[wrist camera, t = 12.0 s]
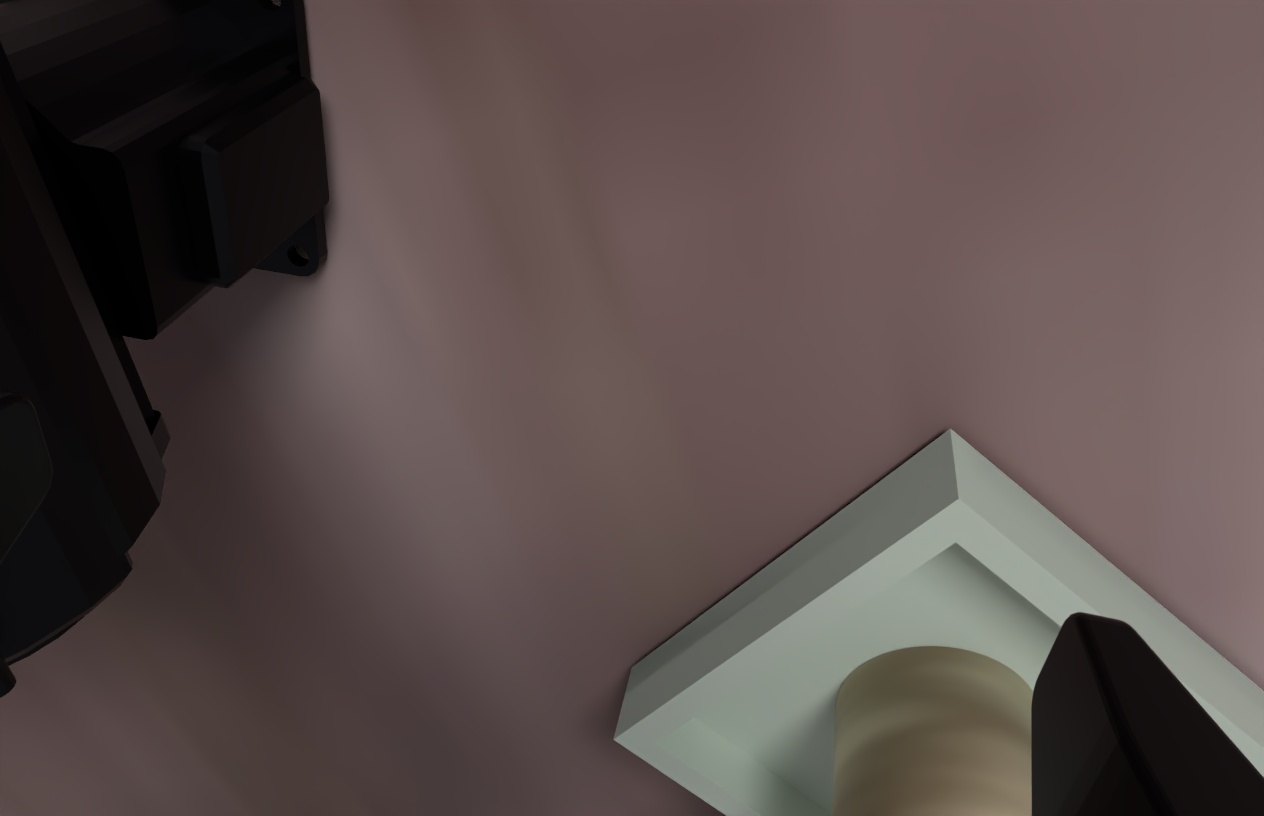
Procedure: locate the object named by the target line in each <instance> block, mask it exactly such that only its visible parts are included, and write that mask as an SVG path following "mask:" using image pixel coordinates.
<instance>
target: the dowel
mask: <svg viewBox="0 0 1264 816" xmlns="http://www.w3.org/2000/svg"><path fill="white" fill-rule="evenodd" d="M1032 696H1033V691H1032V689H1031V688H1030V686H1029V685H1028V684H1027V683H1026V682H1025V681H1024V680H1023V679H1022V677H1021V676H1020V675H1018V674H1017V673H1016V672H1014V671H1013V670H1012V669H1010V668H1009V667H1007V666H1006V665H1004V664H1002V663H1001V662H999V661H996V660H994V659H992V658H990V657H988V656H985V655H982V654H979V653H976V652H972V651H968V650H964V649H959V648H952V647H940V646H923V647H912V648H905V649H900V650H896V651H892V652H889V653H886V654H883V655H880V656H878V657H876V658H874V659H871V660H869V661H868V662H866V663H865V664H863V665H861V666H860V667H859V668H857V669H856V670H855V671H854V672H852V673H851V674H850V676H849V677H848V678H847V679H846V680H845V682H844V683H843V685H842V686H841V688H840V690H839V693H838V695H837V699H836V705H835V743H834V782H833V816H1032V786H1031V705H1032Z"/></svg>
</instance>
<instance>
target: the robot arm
mask: <svg viewBox="0 0 1264 816" xmlns="http://www.w3.org/2000/svg"><path fill="white" fill-rule="evenodd" d="M328 201H329V191H328V180H327V169H326V157H325V146H324V135H323V124H322V113H321V102H320V92H319V90H318V88H317V87H316V85H315V84H314V82H313V81H312V80H311V77H310V67H309V56H308V45H307V35H306V24H305V14H304V3H303V0H281V6H277V5H275V4H273V3H272V1H271V0H0V698H1V697H3V696H4V695H6V694H7V693H9V692H10V691H11V690H12V689H13V687H14V686H15V683H16V679H15V676H14V675H13V673H12V671H11V670H10V668H9V665H11V664H13V663H15V662H17V661H19V660H22V659H24V658H26V657H28V656H30V655H31V654H33V653H35V652H36V651H38V650H39V649H41V648H43V647H44V646H46V645H47V644H49V643H51V642H52V641H54V640H56V639H57V638H59V637H60V636H61V635H62V634H64V633H65V632H66V631H67V630H69V629H70V628H71V627H72V626H73V625H75V624H76V623H77V622H78V621H80V620H81V619H82V618H83V617H84V616H85V615H87V614H88V613H89V612H91V611H92V610H93V609H94V608H95V607H96V606H97V605H99V604H100V603H101V602H102V601H103V600H104V599H105V598H107V597H108V596H109V595H110V594H111V593H112V592H114V591H115V590H116V589H117V588H118V587H119V586H120V585H121V584H122V583H123V581H124V580H125V578H126V577H127V576H128V574H129V573H130V571H131V570H132V564H133V562H132V560H131V558H130V556H129V554H128V552H127V551H128V550H129V549H130V548H131V547H132V546H133V544H134V543H135V541H136V540H137V538H138V537H139V535H140V534H141V532H142V531H143V529H144V528H145V526H146V525H147V523H148V522H149V520H150V519H151V517H152V516H153V514H154V513H155V511H156V510H157V508H158V507H159V505H160V501H161V495H162V490H163V484H164V478H165V472H166V470H165V468H164V465H163V463H162V461H161V460H162V457H163V455H164V452H165V450H166V447H167V445H168V443H169V440H170V435H169V432H168V430H167V427H166V425H165V423H164V420H163V418H162V415H161V413H160V412H159V411H156V410H153V409H152V406H151V404H150V402H149V399H148V397H147V394H146V392H145V389H144V387H143V385H142V382H141V380H140V377H139V375H138V373H137V370H136V368H135V365H134V363H133V360H132V358H131V356H130V353H129V351H128V348H127V346H126V343H125V341H124V339H123V336H127V337H132V338H138V339H143V340H149V339H153V338H154V337H156V336H157V335H158V334H159V333H160V332H161V331H163V330H164V329H165V328H166V327H167V326H169V325H170V324H171V323H172V322H173V321H174V320H176V319H177V318H178V317H179V316H180V315H182V314H183V313H184V312H185V311H186V310H187V309H189V308H190V307H191V306H192V305H193V304H195V303H196V302H197V301H198V300H199V299H200V298H202V297H203V296H204V295H205V294H206V293H208V292H209V291H210V290H211V289H212V288H214V287H215V286H218V287H224V288H229V287H231V286H233V285H234V284H235V283H236V282H237V281H238V280H240V279H241V278H242V277H243V276H244V275H245V274H247V273H248V272H249V271H250V270H251V269H252V268H256V269H262V270H268V271H274V272H279V273H285V274H291V275H297V276H309V275H311V274H313V273H315V272H316V271H317V270H318V269H319V268H320V267H321V266H322V265H323V264H324V262H325V261H326V257H327V246H326V235H325V225H324V214H323V207H324V206H325V205H326V204H327V203H328ZM295 246H299V247H302V248H303V249H304V250H305V251H306V252H307V254H308V256H309V259H306V258H304V257H302V256H301V255H300V254H299V253H298V252H297V250H296V247H295ZM1031 786H1032V816H1264V777H1263V776H1262V775H1261V774H1260V772H1259V771H1258V770H1257V769H1256V768H1255V767H1254V766H1253V764H1252V763H1251V762H1250V761H1249V760H1248V759H1247V757H1246V756H1245V755H1244V754H1243V753H1242V752H1241V751H1240V749H1239V748H1238V747H1237V746H1236V745H1235V744H1234V743H1233V741H1232V740H1231V739H1230V738H1229V737H1228V736H1227V735H1226V733H1225V732H1224V731H1223V730H1222V729H1221V728H1220V727H1219V725H1218V724H1217V723H1216V722H1215V721H1214V720H1213V719H1212V717H1211V716H1210V715H1209V714H1208V713H1207V712H1206V711H1205V709H1204V708H1203V707H1202V706H1201V705H1200V704H1199V702H1198V701H1197V700H1196V699H1195V698H1194V697H1193V696H1192V694H1191V693H1190V692H1189V691H1188V690H1187V689H1186V688H1185V686H1184V685H1183V684H1182V683H1181V682H1180V681H1179V680H1178V678H1177V677H1176V676H1175V675H1174V674H1173V673H1172V672H1171V670H1170V669H1169V668H1168V667H1167V666H1166V665H1165V664H1164V662H1163V661H1162V660H1161V659H1160V658H1159V657H1158V656H1157V654H1156V653H1155V652H1154V651H1153V650H1152V649H1151V647H1150V646H1149V645H1148V644H1147V643H1146V642H1145V641H1144V639H1143V638H1142V637H1141V636H1140V635H1139V634H1138V633H1137V631H1136V630H1135V629H1134V628H1133V627H1131V626H1130V625H1129V624H1128V623H1126V622H1124V621H1121V620H1118V619H1113V618H1108V617H1103V616H1098V615H1093V614H1089V613H1084V612H1077V613H1073V614H1071V615H1070V616H1069V617H1068V618H1067V619H1066V620H1065V621H1064V623H1063V625H1062V627H1061V629H1060V631H1059V633H1058V635H1057V637H1056V639H1055V642H1054V644H1053V646H1052V648H1051V650H1050V652H1049V654H1048V656H1047V659H1046V661H1045V663H1044V665H1043V667H1042V669H1041V671H1040V673H1039V675H1038V678H1037V680H1036V683H1035V687H1034V691H1033V696H1032V705H1031Z"/></svg>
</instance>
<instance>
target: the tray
mask: <svg viewBox="0 0 1264 816" xmlns="http://www.w3.org/2000/svg"><path fill="white" fill-rule="evenodd" d="M1077 612H1084V613H1089V614H1093V615H1098V616H1103V617H1108V618H1113V619H1118V620H1121V621H1124V622H1126V623H1128V624H1129V625H1130V626H1131V627H1133V628H1134V629H1135V630H1136V631H1137V633H1138V634H1139V635H1140V636H1141V637H1142V638H1143V639H1144V641H1145V642H1146V643H1147V644H1148V645H1149V646H1150V647H1151V649H1152V650H1153V651H1154V652H1155V653H1156V654H1157V656H1158V657H1159V658H1160V659H1161V660H1162V661H1163V662H1164V664H1165V665H1166V666H1167V667H1168V668H1169V669H1170V670H1171V672H1172V673H1173V674H1174V675H1175V676H1176V677H1177V678H1178V680H1179V681H1180V682H1181V683H1182V684H1183V685H1184V686H1185V688H1186V689H1187V690H1188V691H1189V692H1190V693H1191V694H1192V696H1193V697H1194V698H1195V699H1196V700H1197V701H1198V702H1199V704H1200V705H1201V706H1202V707H1203V708H1204V709H1205V711H1206V712H1207V713H1208V714H1209V715H1210V716H1211V717H1212V719H1213V720H1214V721H1215V722H1216V723H1217V724H1218V725H1219V727H1220V728H1221V729H1222V730H1223V731H1224V732H1225V733H1226V735H1227V736H1228V737H1229V738H1230V739H1231V740H1232V741H1233V743H1234V744H1235V745H1236V746H1237V747H1238V748H1239V749H1240V751H1241V752H1242V753H1243V754H1244V755H1245V756H1246V757H1247V759H1248V760H1249V761H1250V762H1251V763H1252V764H1253V766H1254V767H1255V768H1256V769H1257V770H1258V771H1259V772H1260V774H1261V775H1262V776H1263V777H1264V691H1263V690H1262V689H1261V688H1260V687H1258V686H1257V685H1256V684H1255V683H1254V682H1252V681H1251V680H1250V679H1249V678H1248V677H1247V676H1245V675H1244V674H1243V673H1242V672H1241V671H1239V670H1238V669H1237V668H1236V667H1235V666H1233V665H1232V664H1231V663H1230V662H1229V661H1227V660H1226V659H1225V658H1224V657H1223V656H1221V655H1220V654H1219V653H1218V652H1217V651H1215V650H1214V649H1213V648H1212V647H1211V646H1210V645H1208V644H1207V643H1206V642H1205V641H1204V640H1202V639H1201V638H1200V637H1199V636H1198V635H1196V634H1195V633H1194V632H1193V631H1192V630H1190V629H1189V628H1188V627H1187V626H1186V625H1184V624H1183V623H1182V622H1181V621H1180V620H1178V619H1177V618H1176V617H1175V616H1174V615H1173V614H1171V613H1170V612H1169V611H1168V610H1167V609H1165V608H1164V607H1163V606H1162V605H1161V604H1159V603H1158V602H1157V601H1156V600H1155V599H1153V598H1152V597H1151V596H1150V595H1149V594H1147V593H1146V592H1145V591H1144V590H1143V589H1141V588H1140V587H1139V586H1138V585H1137V584H1136V583H1134V582H1133V581H1132V580H1131V579H1130V578H1128V577H1127V576H1126V575H1125V574H1124V573H1122V572H1121V571H1120V570H1119V569H1118V568H1116V567H1115V566H1114V565H1113V564H1112V563H1110V562H1109V561H1108V560H1107V559H1106V558H1104V557H1103V556H1102V555H1101V554H1100V553H1099V552H1097V551H1096V550H1095V549H1094V548H1093V547H1091V546H1090V545H1089V544H1088V543H1087V542H1085V541H1084V540H1083V539H1082V538H1081V537H1079V536H1078V535H1077V534H1076V533H1075V532H1073V531H1072V530H1071V529H1070V528H1069V527H1067V526H1066V525H1065V524H1064V523H1063V522H1062V521H1060V520H1059V519H1058V518H1057V517H1056V516H1054V515H1053V514H1052V513H1051V512H1050V511H1048V510H1047V509H1046V508H1045V507H1044V506H1042V505H1041V504H1040V503H1039V502H1038V501H1036V500H1035V499H1034V498H1033V497H1032V496H1030V495H1029V494H1028V493H1027V492H1026V491H1025V490H1023V489H1022V488H1021V487H1020V486H1019V485H1017V484H1016V483H1015V482H1014V481H1013V480H1011V479H1010V478H1009V477H1008V476H1007V475H1005V474H1004V473H1003V472H1002V471H1001V470H999V469H998V468H997V467H996V466H995V465H993V464H992V463H991V462H990V461H989V460H988V459H986V458H985V457H984V456H983V455H982V454H980V453H979V452H978V451H977V450H976V449H974V448H973V447H972V446H971V445H970V444H968V443H967V442H966V441H965V440H964V439H962V438H961V437H960V436H959V435H958V434H956V433H955V432H954V431H953V430H952V429H949V430H948V431H946V432H945V433H944V434H942V435H941V436H940V437H938V438H937V439H936V440H934V441H933V442H932V443H930V444H929V445H928V446H926V447H925V448H924V449H922V450H921V451H920V452H918V453H917V454H916V455H914V456H913V457H912V458H910V459H909V460H908V461H906V462H905V463H904V464H902V465H901V466H900V467H898V468H897V469H896V470H894V471H893V472H892V473H890V474H889V475H888V476H886V477H885V478H884V479H882V480H881V481H880V482H878V483H877V484H876V485H874V486H873V487H872V488H870V489H869V490H868V491H866V492H865V493H864V494H862V495H861V496H860V497H858V498H857V499H856V500H854V501H853V502H852V503H850V504H849V505H848V506H846V507H845V508H844V509H842V510H841V511H840V512H838V513H837V514H836V515H834V516H833V517H832V518H830V519H829V520H828V521H826V522H825V523H824V524H822V525H821V526H820V527H818V528H817V529H816V530H814V531H813V532H812V533H810V534H809V535H808V536H806V537H805V538H804V539H802V540H801V541H800V542H798V543H797V544H796V545H794V546H793V547H792V548H790V549H789V550H788V551H786V552H785V553H784V554H782V555H781V556H780V557H778V558H777V559H776V560H774V561H773V562H772V563H770V564H769V565H768V566H766V567H765V568H764V569H762V570H761V571H760V572H758V573H757V574H756V575H754V576H753V577H752V578H750V579H749V580H748V581H746V582H745V583H744V584H742V585H741V586H740V587H738V588H737V589H736V590H734V591H733V592H732V593H730V594H729V595H728V596H726V597H725V598H724V599H722V600H721V601H720V602H718V603H717V604H716V605H714V606H713V607H712V608H710V609H709V610H708V611H706V612H705V613H704V614H702V615H701V616H700V617H698V618H697V619H696V620H694V621H693V622H692V623H690V624H689V625H688V626H686V627H685V628H684V629H682V630H681V631H680V632H678V633H677V634H676V635H674V636H673V637H672V638H670V639H669V640H668V641H666V642H665V643H664V644H662V645H661V646H660V647H658V648H657V649H656V650H654V651H653V652H652V653H650V654H649V655H648V656H646V657H645V658H644V659H642V660H641V661H640V662H638V663H637V664H636V665H634V666H633V667H632V668H631V672H630V676H629V680H628V684H627V688H626V692H625V696H624V700H623V704H622V708H621V712H620V715H619V719H618V723H617V727H616V731H615V735H614V739H613V740H615V741H616V742H618V743H619V744H621V745H622V746H624V747H625V748H626V749H628V750H629V751H631V752H632V753H634V754H635V755H637V756H638V757H640V758H641V759H643V760H644V761H646V762H647V763H649V764H650V765H652V766H653V767H655V768H656V769H658V770H659V771H661V772H662V773H664V774H665V775H667V776H668V777H670V778H671V779H672V780H674V781H675V782H677V783H678V784H680V785H681V786H683V787H684V788H686V789H687V790H689V791H690V792H692V793H693V794H695V795H696V796H698V797H699V798H701V799H702V800H704V801H705V802H707V803H708V804H710V805H711V806H713V807H714V808H715V809H717V810H718V811H720V812H721V813H723V814H724V815H726V816H833V782H834V743H835V705H836V699H837V695H838V693H839V690H840V688H841V686H842V685H843V683H844V682H845V680H846V679H847V678H848V677H849V676H850V674H851V673H852V672H854V671H855V670H856V669H857V668H859V667H860V666H861V665H863V664H865V663H866V662H868V661H869V660H871V659H874V658H876V657H878V656H880V655H883V654H886V653H889V652H892V651H896V650H900V649H905V648H912V647H923V646H940V647H952V648H959V649H964V650H968V651H972V652H976V653H979V654H982V655H985V656H988V657H990V658H992V659H994V660H996V661H999V662H1001V663H1002V664H1004V665H1006V666H1007V667H1009V668H1010V669H1012V670H1013V671H1014V672H1016V673H1017V674H1018V675H1020V676H1021V677H1022V679H1023V680H1024V681H1025V682H1026V683H1027V684H1028V685H1029V686H1030V688H1031V689H1032V691H1034V687H1035V683H1036V680H1037V678H1038V675H1039V673H1040V671H1041V669H1042V667H1043V665H1044V663H1045V661H1046V659H1047V656H1048V654H1049V652H1050V650H1051V648H1052V646H1053V644H1054V642H1055V639H1056V637H1057V635H1058V633H1059V631H1060V629H1061V627H1062V625H1063V623H1064V621H1065V620H1066V619H1067V618H1068V617H1069V616H1070V615H1071V614H1073V613H1077Z"/></svg>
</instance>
